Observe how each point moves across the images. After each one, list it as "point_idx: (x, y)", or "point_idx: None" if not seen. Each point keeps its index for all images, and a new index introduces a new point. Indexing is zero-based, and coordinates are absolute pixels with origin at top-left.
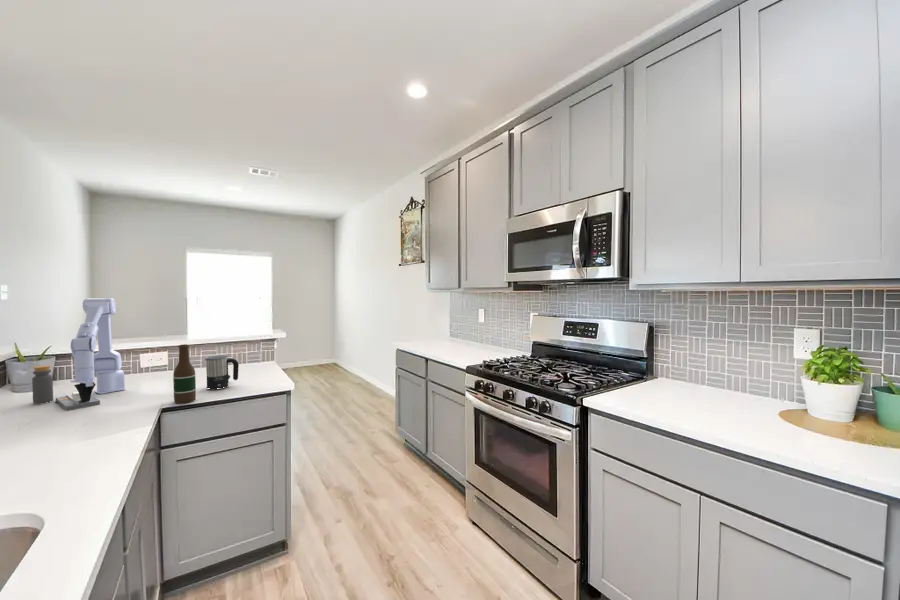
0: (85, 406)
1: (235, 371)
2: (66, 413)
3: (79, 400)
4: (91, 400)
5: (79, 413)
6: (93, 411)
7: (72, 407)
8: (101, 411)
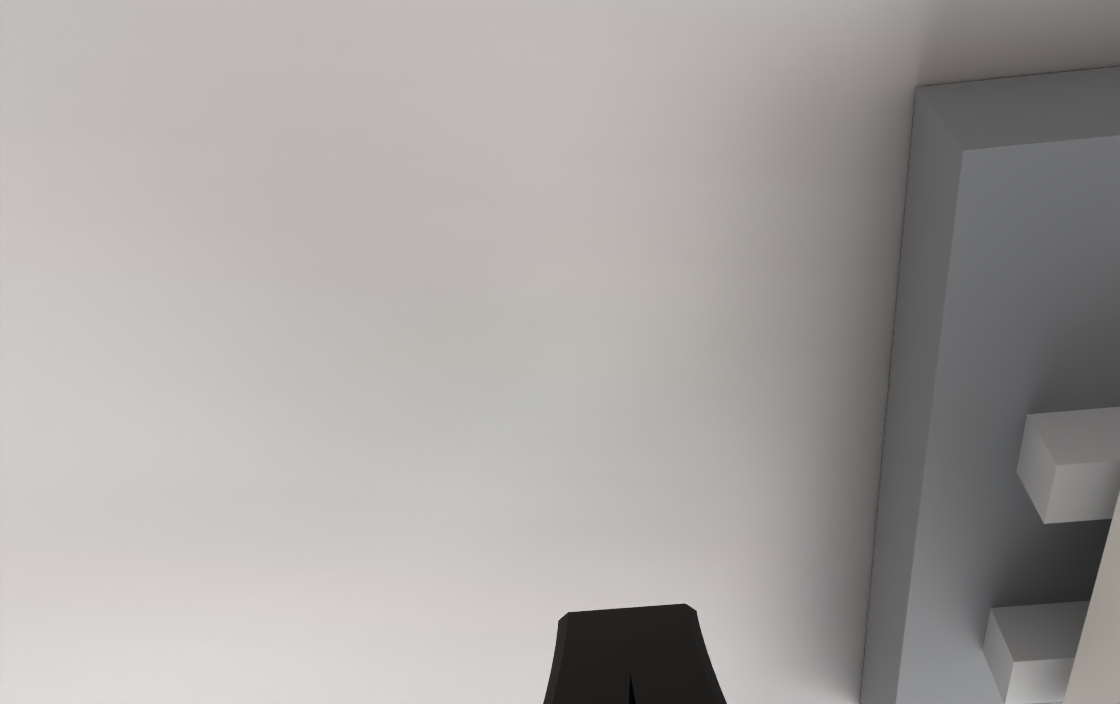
0: (880, 503)
1: None
2: (438, 58)
3: (1102, 560)
4: None
5: (152, 338)
6: (160, 572)
7: (919, 273)
8: (41, 670)
